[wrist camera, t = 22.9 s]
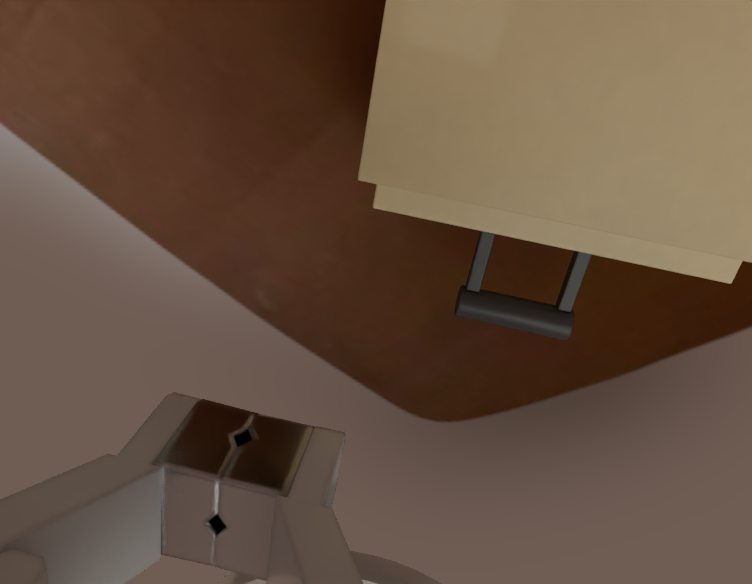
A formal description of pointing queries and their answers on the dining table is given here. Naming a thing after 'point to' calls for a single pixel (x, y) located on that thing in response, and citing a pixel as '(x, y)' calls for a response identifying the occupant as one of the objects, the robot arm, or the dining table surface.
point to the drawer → (546, 232)
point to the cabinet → (573, 113)
